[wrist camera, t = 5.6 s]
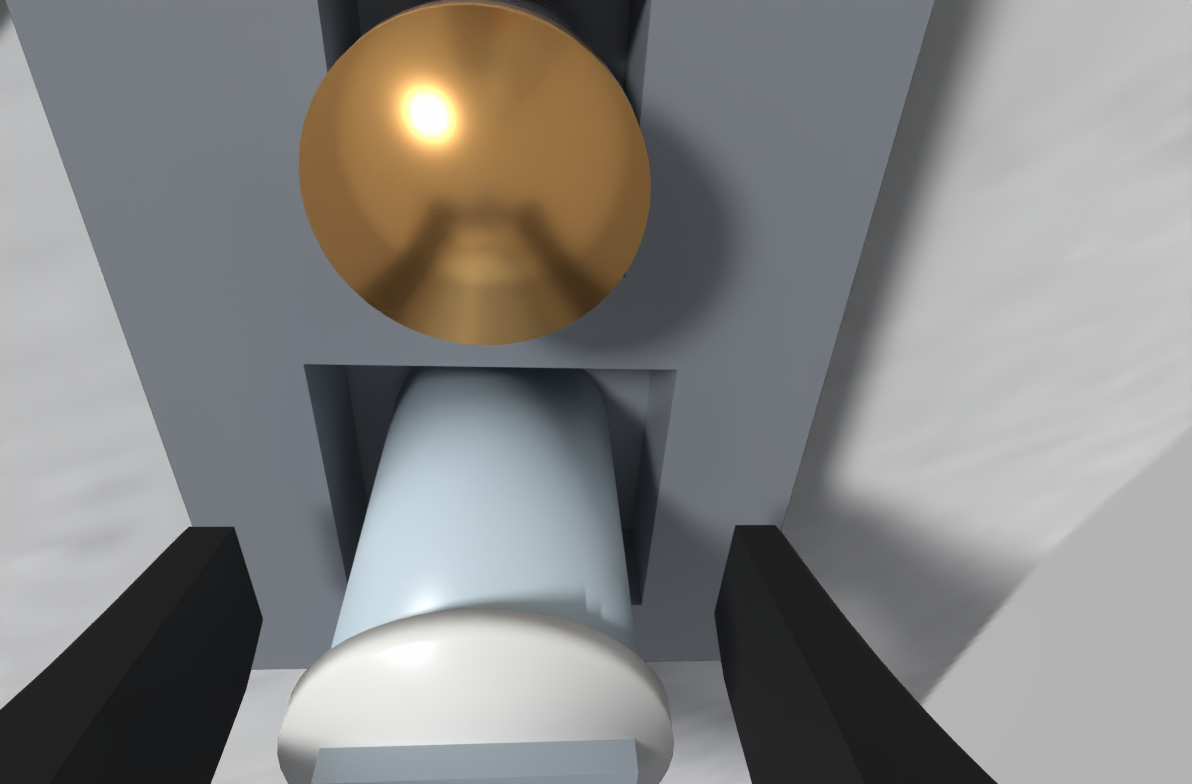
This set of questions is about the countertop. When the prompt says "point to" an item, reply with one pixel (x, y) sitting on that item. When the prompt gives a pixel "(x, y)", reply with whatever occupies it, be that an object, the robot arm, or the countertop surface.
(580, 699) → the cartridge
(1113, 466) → the countertop surface
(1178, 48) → the countertop surface
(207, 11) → the grey flat block
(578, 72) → the plunger
